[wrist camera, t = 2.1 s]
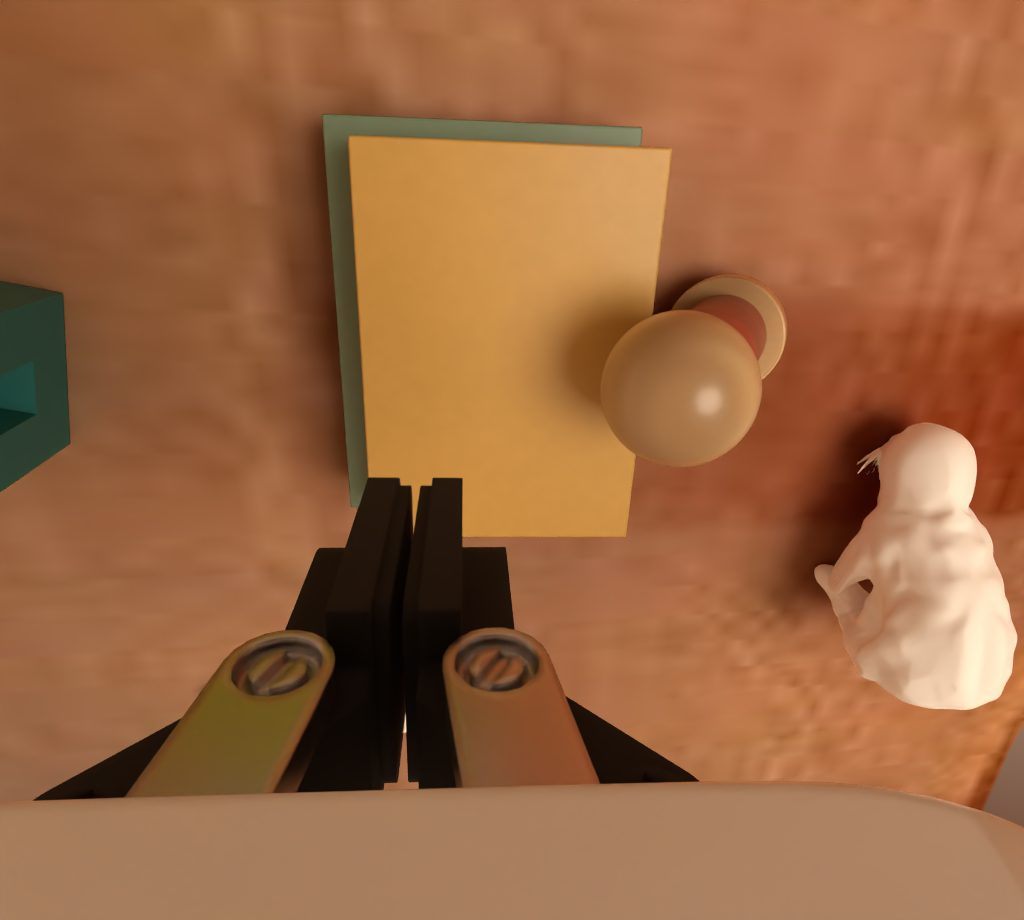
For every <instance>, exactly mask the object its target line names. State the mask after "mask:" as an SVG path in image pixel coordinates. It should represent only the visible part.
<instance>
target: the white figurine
mask: <svg viewBox="0 0 1024 920" xmlns="http://www.w3.org/2000/svg"><path fill="white" fill-rule="evenodd" d="M868 458H869V459H868ZM875 458H877V459H875ZM866 459H868V460H867V461H866V462H865V464H864V465H863V466H862V468H861V469H860V470H859V472H860V471H862V470H863V469H864V468H865V467H866V466H867V465H868V464H869V463H871V462H872V461H873V460H874V459H875V461H876V460H877V463H876V465H877V464H878V466H879V467H878V468H879V473H880V474H879V480H880V491H879V495H878V499H877V503H878V504H877V506H876V508H875V509H874V510H873V511H872V512H871V513H870V514H869V515H868V516H867V517H866V518H865V519H864V521H863V523H862V526H861V529H860V531H859V532H858V534H857V535H856V536H855V537H854V538H853V539H852V540H851V541H850V543H849V544H848V546H847V547H846V548H845V550H844V551H843V553H842V555H841V556H840V558H839V559H838V561H837V562H836V564H835V566H832V565H827V564H822V565H818V566H817V567H816V568H815V570H814V574H815V578H816V580H817V582H818V583H819V584H820V586H821V587H822V588H823V589H824V590H825V592H826V593H827V595H828V596H829V598H830V600H831V603H832V608H833V611H834V613H835V615H836V616H837V617H838V623H839V625H840V627H841V629H842V631H843V636H842V641H843V645H844V647H845V649H846V651H847V653H848V654H849V656H850V658H851V660H852V662H853V664H854V666H855V669H856V671H857V674H858V675H859V676H861V677H863V678H866V679H869V680H872V681H875V682H877V683H878V684H879V685H880V686H881V687H882V688H884V689H885V690H886V691H888V692H889V693H891V694H892V695H894V696H895V697H897V698H898V699H900V700H902V701H904V702H907V703H910V704H913V705H916V706H921V707H925V708H931V709H958V710H968V709H973V708H976V707H978V706H980V705H983V704H985V703H987V702H990V701H993V700H995V699H997V698H998V697H999V696H1000V695H1001V693H1002V691H1003V688H1004V686H1005V684H1006V682H1007V680H1008V679H1009V677H1010V675H1011V673H1012V665H1013V654H1014V650H1015V647H1016V643H1017V634H1016V630H1015V628H1014V625H1013V623H1012V620H1011V616H1010V609H1009V604H1008V601H1007V599H1006V597H1005V594H1004V583H1003V579H1002V576H1001V574H1000V571H999V569H998V568H997V566H996V563H995V561H994V558H993V544H992V540H991V538H990V535H989V534H988V531H987V530H986V528H985V527H984V526H983V525H982V524H981V523H980V522H979V521H978V519H977V518H976V516H975V514H974V513H973V511H972V510H971V509H970V508H969V507H968V505H969V503H970V501H971V499H972V496H973V492H974V488H975V483H976V475H977V462H976V455H975V452H974V449H973V447H972V446H971V444H970V443H969V442H968V440H967V439H966V438H965V437H963V436H962V435H961V434H959V433H958V432H956V431H954V430H952V429H949V428H947V427H944V426H941V425H937V424H933V423H918V424H914V425H911V426H909V427H907V428H906V429H905V430H904V431H903V432H901V433H899V434H896V435H894V436H892V437H891V438H890V439H889V441H888V442H887V443H885V444H884V445H883V446H882V447H880V448H878V449H876V450H875V451H873V452H871V453H870V454H868V455H867V456H866V457H864V458H863V459H862V460H861V461H858V462H857V464H859V463H861V462H862V461H864V460H866ZM875 461H874V462H875ZM873 464H874V463H873ZM876 465H875V466H876ZM874 469H875V468H874ZM873 471H874V470H873ZM873 471H872V472H873ZM859 472H858V473H859ZM868 473H869V472H868ZM868 473H867V474H868ZM865 579H869V580H871V582H872V584H873V586H874V587H873V589H872V591H871V593H870V594H869V593H868V592H867V591H865V590H864V589H863V588H862V587H861V586H860V584H859V583H858V582H859V581H861V580H865Z"/></svg>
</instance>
